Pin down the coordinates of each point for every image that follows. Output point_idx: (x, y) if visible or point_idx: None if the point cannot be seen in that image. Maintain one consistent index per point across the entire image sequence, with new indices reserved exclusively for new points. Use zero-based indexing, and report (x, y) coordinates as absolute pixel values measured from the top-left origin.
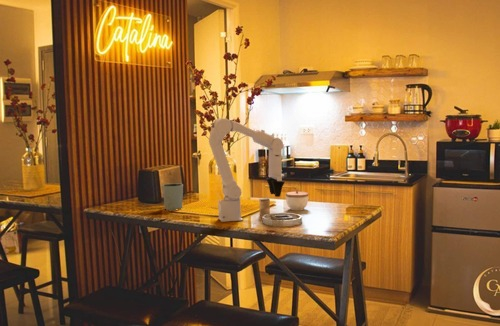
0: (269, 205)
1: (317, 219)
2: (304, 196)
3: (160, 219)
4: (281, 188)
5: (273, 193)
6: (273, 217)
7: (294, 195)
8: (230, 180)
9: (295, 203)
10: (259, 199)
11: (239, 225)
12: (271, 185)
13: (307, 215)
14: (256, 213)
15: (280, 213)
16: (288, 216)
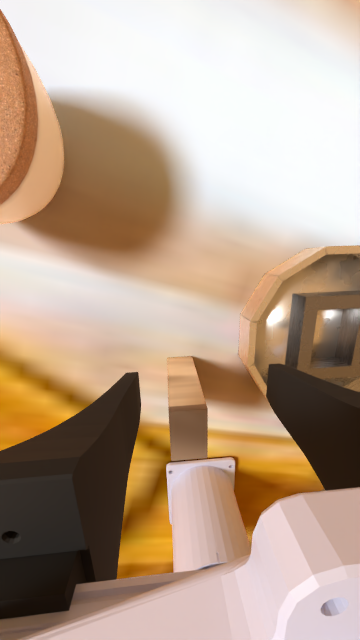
0: (199, 385)
1: (326, 142)
2: (14, 34)
3: None
4: (352, 394)
5: (138, 389)
6: (335, 377)
7: (20, 154)
8: None
9: (57, 174)
10: (172, 456)
11: (297, 470)
12: (122, 467)
13: (211, 160)
14: (99, 395)
15: (255, 328)
16: (337, 308)
